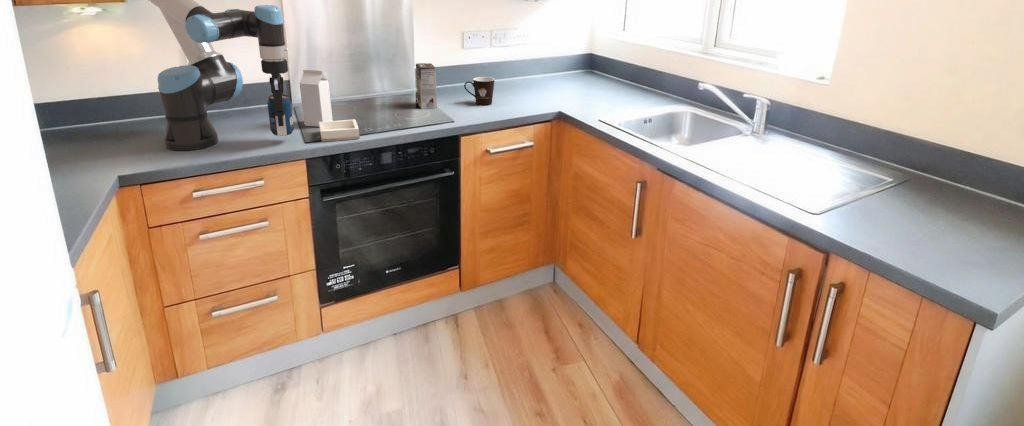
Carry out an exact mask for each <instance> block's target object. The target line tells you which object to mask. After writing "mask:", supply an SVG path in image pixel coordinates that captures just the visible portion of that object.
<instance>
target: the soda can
mask: <svg viewBox="0 0 1024 426" xmlns="http://www.w3.org/2000/svg"><path fill="white" fill-rule="evenodd" d="M282 100H283V109H284V115H285V122H286V131H287V135H285V136H284V137H286V136H290V135H291V134H293V131H294V120H293V112H292V111H293V110H292V103H291V102H292V101H291V99H290V98H289V95H287V94H283V95H282ZM266 103H267V112H268V119H269V127H270V131H271V133H272V134H273V135H274V136H276V137H279V136H278V133H277V125H276V117H275V116H273V114H275V108H274V99H273V94H272V95H269V96H268V100H267V102H266Z"/></svg>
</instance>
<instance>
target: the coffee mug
mask: <svg viewBox="0 0 1024 426" xmlns="http://www.w3.org/2000/svg"><path fill="white" fill-rule="evenodd" d="M472 81H473V82H472ZM472 81H466V82H465V83H464V85H463V86H464V90H465V91H466V92H467V93H468V94H470V95H471V96H473V97H474V98H475V104H476V106H481V107H483V106H484V107H486V106H492V104H493V96H494V90H495V89H494V88H495V78H494V77H490V76H478V77H474V78H472ZM467 84H471V85H472V88H473V89H474V93H472V92H471V91H469V90H468V89H467V87H466V85H467Z"/></svg>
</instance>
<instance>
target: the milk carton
mask: <svg viewBox="0 0 1024 426" xmlns="http://www.w3.org/2000/svg"><path fill="white" fill-rule="evenodd" d="M302 72H303V73H302V75H301V78H300V81H299V84H298V85H299V89H300V97H301V98H300V99H301V105H302V106H301V107H302V113H303V122H304V126H306V127H315V128H316V127H318V128H320V126H319V122H324V121H334V119H333V114H332V113H333V111H332V102H331V93H330V85H329V79H328V78H327V77H326V76H325V75H324V73H323V72H324V71H323V70H316V69H302Z"/></svg>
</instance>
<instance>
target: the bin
mask: <svg viewBox="0 0 1024 426" xmlns="http://www.w3.org/2000/svg"><path fill="white" fill-rule="evenodd" d="M319 126H320V127H319V133H320V138H321V142H322V143H328V142H341V141H351V140H354V141H355V140H360V130H359V126H358V123H357V120H356V119H344V120H343V119H342V120H333V121H324V122H319Z"/></svg>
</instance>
